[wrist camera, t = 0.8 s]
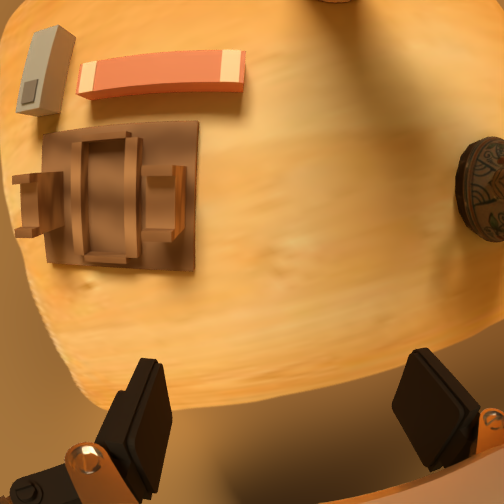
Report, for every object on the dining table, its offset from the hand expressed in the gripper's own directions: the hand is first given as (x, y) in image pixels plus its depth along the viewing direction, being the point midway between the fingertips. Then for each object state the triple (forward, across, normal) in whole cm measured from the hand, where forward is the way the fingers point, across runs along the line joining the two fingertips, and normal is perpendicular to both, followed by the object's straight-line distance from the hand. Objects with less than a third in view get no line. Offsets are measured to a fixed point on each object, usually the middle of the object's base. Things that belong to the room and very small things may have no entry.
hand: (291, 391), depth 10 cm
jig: (+28, +18, -5) cm, 33 cm away
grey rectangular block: (+28, +29, -23) cm, 46 cm away
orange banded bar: (+28, +12, -20) cm, 36 cm away
